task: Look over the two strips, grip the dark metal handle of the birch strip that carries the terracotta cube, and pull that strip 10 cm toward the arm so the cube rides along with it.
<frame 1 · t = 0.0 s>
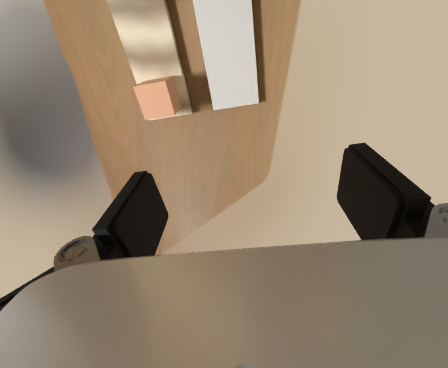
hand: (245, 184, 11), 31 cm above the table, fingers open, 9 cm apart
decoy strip: (227, 38, 33), on the table
cube: (163, 94, 37), point 1 cm above the table, touching cube strip
cube strip: (146, 55, 32), point 4 cm above the table, slide at 0.0 cm, touching cube
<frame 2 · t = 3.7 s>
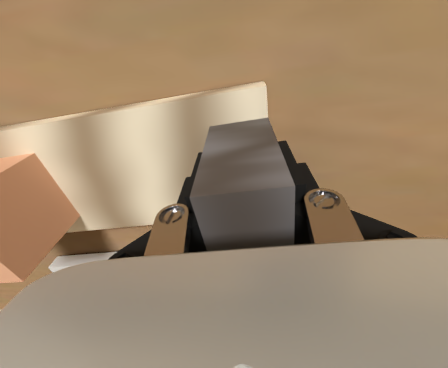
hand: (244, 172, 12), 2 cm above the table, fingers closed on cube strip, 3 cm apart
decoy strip: (171, 274, 21), on the table
cube: (26, 191, 14), point 1 cm above the table, touching cube strip
cube strip: (87, 206, 12), point 4 cm above the table, slide at 0.0 cm, touching cube, gripper
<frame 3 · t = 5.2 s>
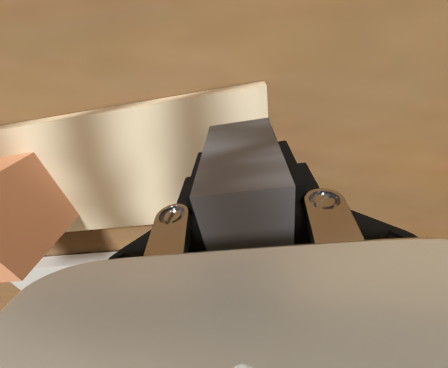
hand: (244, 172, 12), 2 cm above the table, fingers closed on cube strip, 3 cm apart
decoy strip: (120, 276, 22), on the table
cube: (25, 190, 14), point 1 cm above the table, touching cube strip
cube strip: (86, 205, 12), point 4 cm above the table, slide at 5.3 cm, touching cube, gripper
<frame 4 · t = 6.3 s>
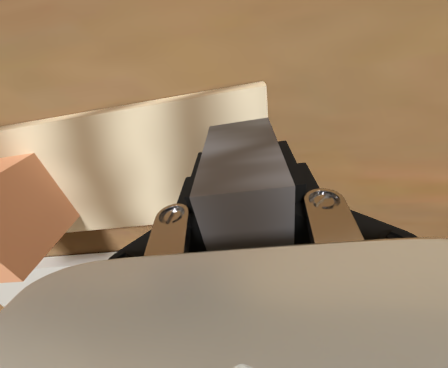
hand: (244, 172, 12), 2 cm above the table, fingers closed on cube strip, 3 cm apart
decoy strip: (81, 279, 22), on the table
cube: (26, 191, 14), point 1 cm above the table, touching cube strip
cube strip: (87, 206, 12), point 4 cm above the table, slide at 9.9 cm, touching cube, gripper
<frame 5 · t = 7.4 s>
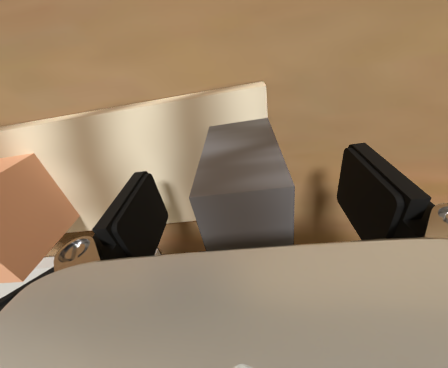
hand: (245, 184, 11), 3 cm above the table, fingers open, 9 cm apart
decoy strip: (80, 279, 23), on the table
cube: (26, 191, 14), point 1 cm above the table, touching cube strip
cube strip: (86, 206, 12), point 4 cm above the table, slide at 10.0 cm, touching cube
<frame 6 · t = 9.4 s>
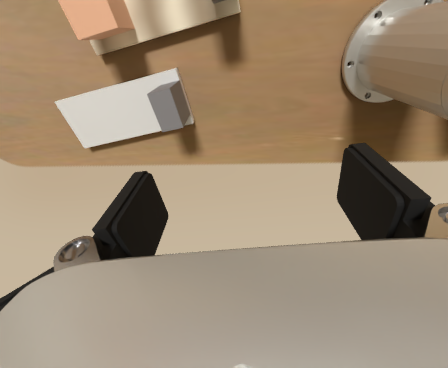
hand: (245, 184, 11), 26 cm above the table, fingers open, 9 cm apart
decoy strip: (128, 110, 35), on the table
cube: (107, 10, 27), point 1 cm above the table, touching cube strip
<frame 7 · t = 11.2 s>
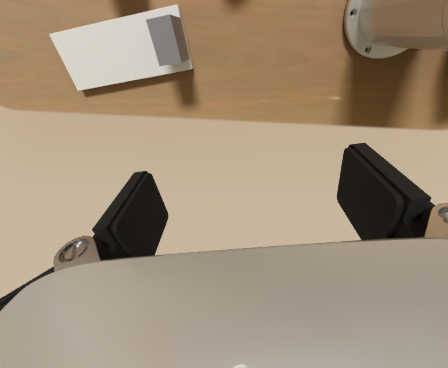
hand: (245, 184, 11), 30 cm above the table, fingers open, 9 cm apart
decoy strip: (126, 51, 34), on the table
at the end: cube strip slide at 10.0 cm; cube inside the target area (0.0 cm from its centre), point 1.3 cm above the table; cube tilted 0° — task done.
